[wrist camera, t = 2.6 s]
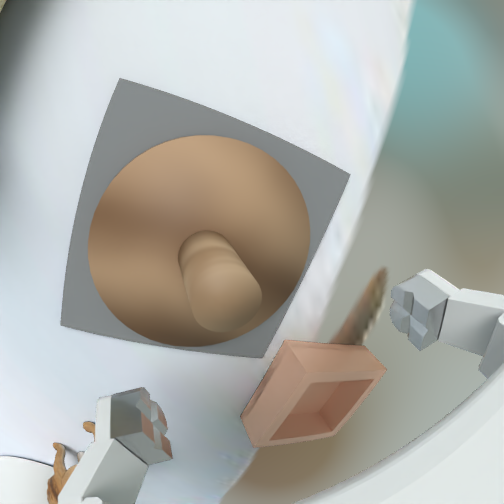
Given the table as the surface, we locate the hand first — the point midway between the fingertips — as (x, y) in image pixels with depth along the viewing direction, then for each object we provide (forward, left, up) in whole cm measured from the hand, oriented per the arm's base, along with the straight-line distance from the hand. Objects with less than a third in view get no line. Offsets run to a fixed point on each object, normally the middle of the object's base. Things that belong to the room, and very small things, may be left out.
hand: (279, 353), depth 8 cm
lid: (-1, 0, -9) cm, 9 cm away
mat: (-1, 0, -9) cm, 9 cm away
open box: (-11, -13, -9) cm, 19 cm away
